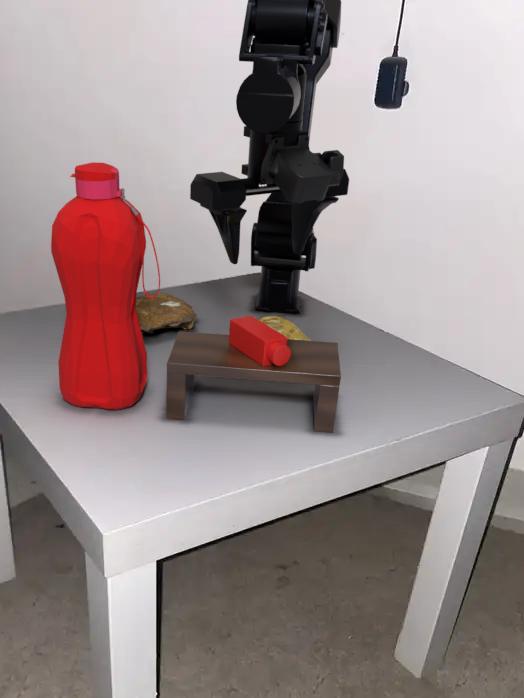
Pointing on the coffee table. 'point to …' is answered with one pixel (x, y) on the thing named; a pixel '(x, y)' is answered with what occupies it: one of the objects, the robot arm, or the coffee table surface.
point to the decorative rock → (163, 312)
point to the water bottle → (100, 291)
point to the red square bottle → (259, 341)
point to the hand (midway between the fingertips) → (265, 258)
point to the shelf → (253, 371)
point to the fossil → (284, 327)
